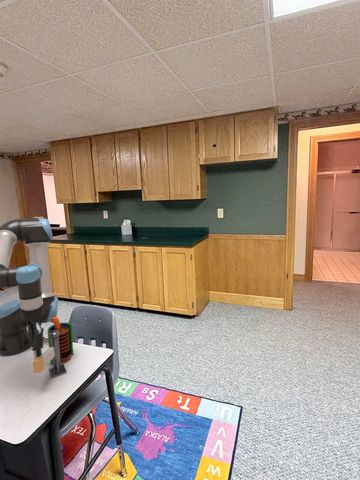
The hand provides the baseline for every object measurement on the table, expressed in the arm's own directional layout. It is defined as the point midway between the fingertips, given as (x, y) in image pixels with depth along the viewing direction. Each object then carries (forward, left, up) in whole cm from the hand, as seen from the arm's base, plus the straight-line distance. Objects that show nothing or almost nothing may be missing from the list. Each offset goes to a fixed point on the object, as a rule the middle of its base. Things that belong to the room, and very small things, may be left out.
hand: (38, 362), depth 103 cm
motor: (-14, +10, -10) cm, 20 cm away
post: (-5, +7, -10) cm, 13 cm away
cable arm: (+1, +2, -1) cm, 3 cm away
